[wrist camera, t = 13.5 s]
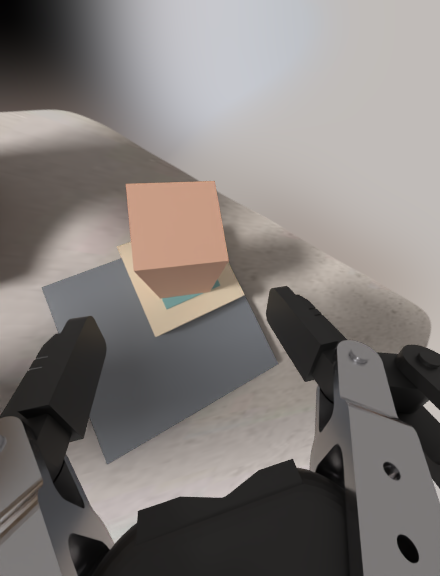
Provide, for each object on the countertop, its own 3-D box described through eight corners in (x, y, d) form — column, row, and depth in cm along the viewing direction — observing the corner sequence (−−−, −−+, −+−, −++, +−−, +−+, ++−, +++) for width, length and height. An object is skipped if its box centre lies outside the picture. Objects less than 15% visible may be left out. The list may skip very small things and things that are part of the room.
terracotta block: (209, 291, 21) (228, 260, 11) (160, 298, 20) (133, 271, 10) (202, 246, 22) (214, 180, 12) (154, 251, 21) (125, 183, 11)
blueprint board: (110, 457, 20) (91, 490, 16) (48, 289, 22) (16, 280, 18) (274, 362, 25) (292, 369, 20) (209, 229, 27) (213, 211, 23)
